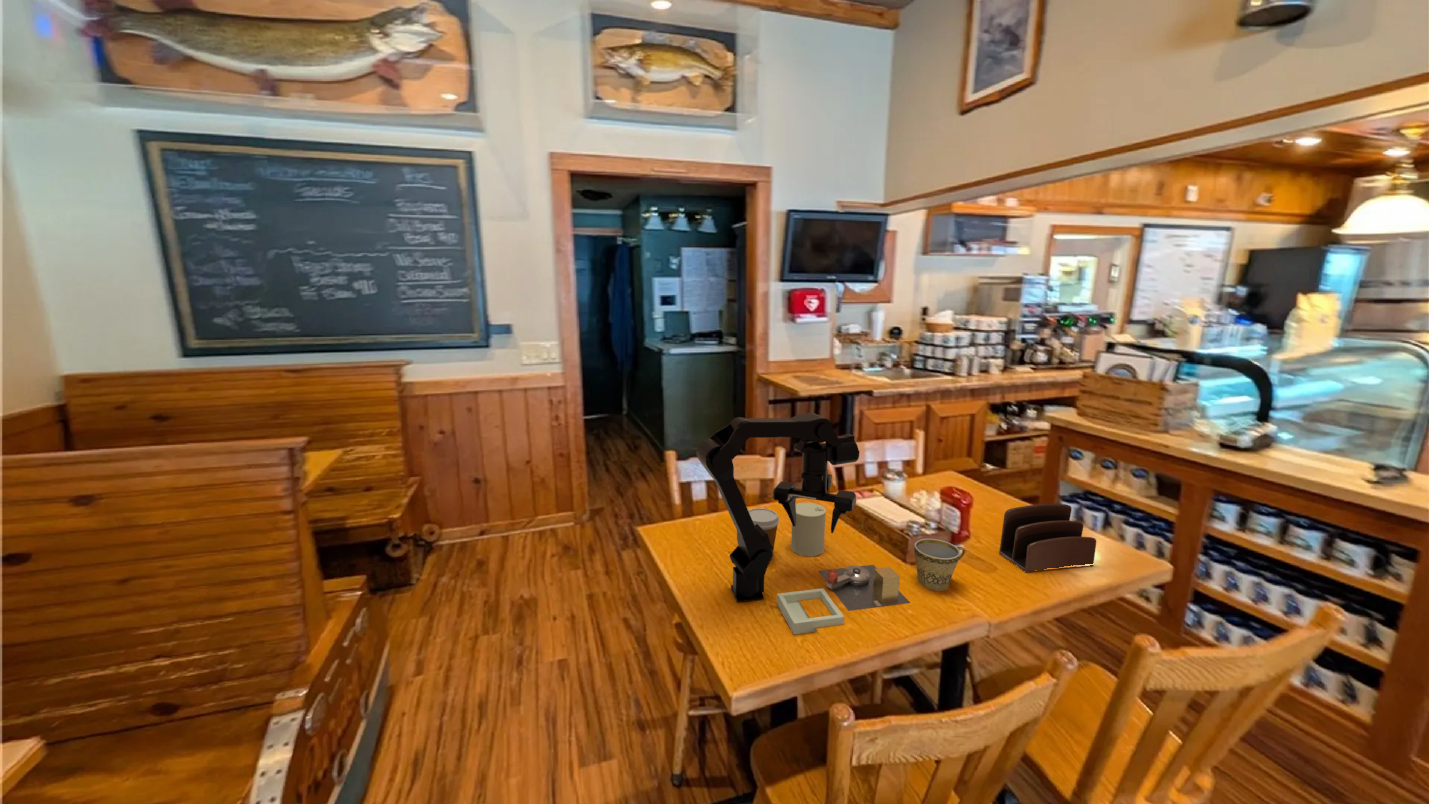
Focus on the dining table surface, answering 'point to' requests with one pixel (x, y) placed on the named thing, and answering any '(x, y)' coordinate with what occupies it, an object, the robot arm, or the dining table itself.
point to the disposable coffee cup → (766, 521)
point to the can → (808, 529)
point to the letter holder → (1044, 538)
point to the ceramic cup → (936, 562)
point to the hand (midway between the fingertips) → (813, 529)
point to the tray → (799, 617)
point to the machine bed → (861, 592)
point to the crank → (847, 576)
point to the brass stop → (886, 584)
